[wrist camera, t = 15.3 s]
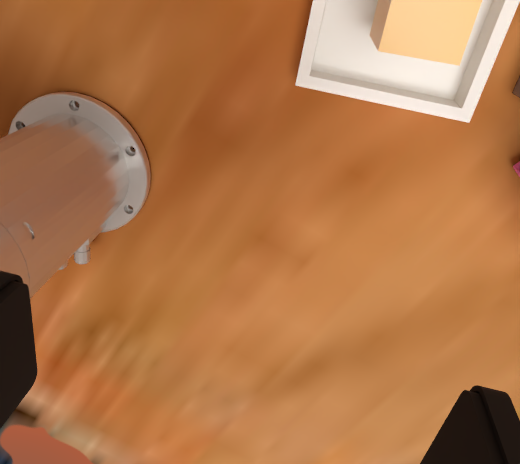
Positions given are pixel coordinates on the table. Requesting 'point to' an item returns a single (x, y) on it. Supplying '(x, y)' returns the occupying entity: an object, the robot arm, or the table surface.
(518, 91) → the gray square socket plate
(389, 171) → the table surface
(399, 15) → the block
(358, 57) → the parts tray
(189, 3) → the table surface
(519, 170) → the gum box
